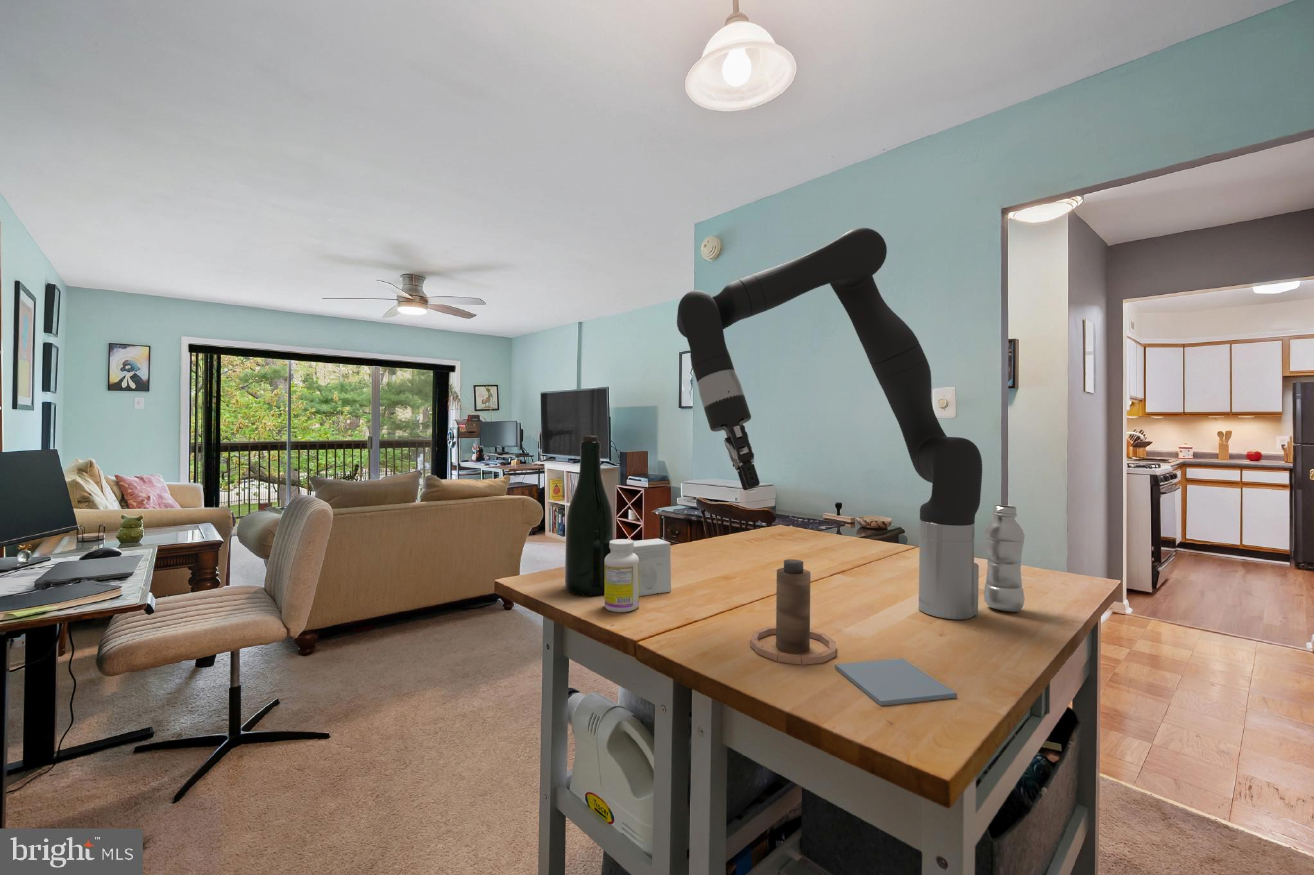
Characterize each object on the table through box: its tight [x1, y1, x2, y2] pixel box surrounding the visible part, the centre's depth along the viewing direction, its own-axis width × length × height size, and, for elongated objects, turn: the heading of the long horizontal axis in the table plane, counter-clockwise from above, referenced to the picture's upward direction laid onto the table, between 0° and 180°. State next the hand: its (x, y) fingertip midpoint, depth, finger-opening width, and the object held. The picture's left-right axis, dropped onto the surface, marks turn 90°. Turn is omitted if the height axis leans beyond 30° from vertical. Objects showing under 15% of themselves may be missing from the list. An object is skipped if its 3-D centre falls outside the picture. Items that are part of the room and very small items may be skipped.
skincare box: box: [633, 538, 672, 597], centre depth 117 cm, size 10×6×10 cm, turn 115°
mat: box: [834, 657, 958, 707], centre depth 75 cm, size 11×11×1 cm
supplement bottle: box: [604, 538, 640, 613], centre depth 106 cm, size 7×7×13 cm
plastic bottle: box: [982, 504, 1025, 612], centre depth 106 cm, size 6×7×20 cm
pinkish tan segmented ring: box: [749, 625, 837, 665], centre depth 87 cm, size 13×13×1 cm
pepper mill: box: [775, 558, 811, 655], centre depth 87 cm, size 5×5×14 cm
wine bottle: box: [564, 434, 615, 597], centre depth 117 cm, size 10×10×33 cm
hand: (751, 488), depth 95 cm, fingers open, 8 cm apart
